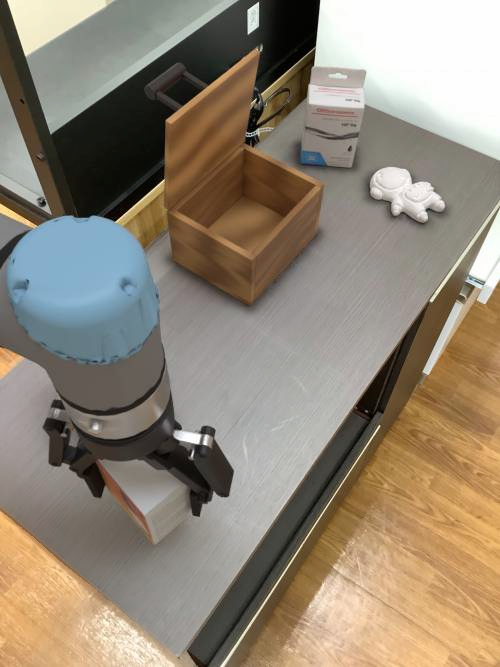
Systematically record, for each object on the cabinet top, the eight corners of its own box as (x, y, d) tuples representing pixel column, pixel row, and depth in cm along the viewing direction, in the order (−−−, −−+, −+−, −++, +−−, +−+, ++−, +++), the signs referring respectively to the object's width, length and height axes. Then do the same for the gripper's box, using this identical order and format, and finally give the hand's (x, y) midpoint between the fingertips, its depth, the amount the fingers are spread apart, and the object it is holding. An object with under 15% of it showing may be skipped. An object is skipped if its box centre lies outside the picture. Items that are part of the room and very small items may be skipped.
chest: (316, 233, 93) (324, 183, 85) (250, 307, 85) (252, 260, 77) (242, 193, 97) (242, 142, 89) (172, 260, 89) (166, 211, 81)
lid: (260, 51, 75) (204, 17, 77) (171, 123, 68) (111, 84, 69) (245, 141, 88) (197, 110, 90) (168, 210, 81) (117, 175, 82)
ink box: (299, 165, 101) (309, 85, 88) (300, 144, 103) (309, 64, 91) (352, 168, 101) (369, 89, 88) (352, 148, 103) (368, 68, 91)
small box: (107, 490, 66) (89, 453, 57) (149, 457, 68) (138, 416, 59) (154, 548, 63) (143, 517, 54) (196, 511, 65) (192, 476, 56)
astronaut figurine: (410, 232, 93) (415, 218, 91) (357, 185, 98) (361, 170, 96) (451, 208, 96) (457, 193, 94) (398, 163, 101) (402, 149, 99)
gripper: (-50, 415, 44) (32, 510, 63) (261, 471, 42) (250, 551, 61) (-8, 327, 48) (58, 441, 67) (278, 376, 46) (262, 479, 65)
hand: (150, 494), depth 64 cm, fingers closed on small box, 9 cm apart
